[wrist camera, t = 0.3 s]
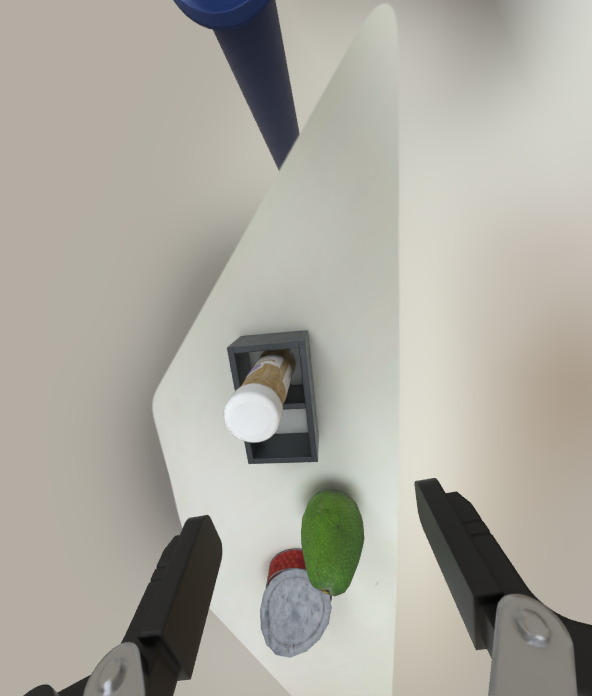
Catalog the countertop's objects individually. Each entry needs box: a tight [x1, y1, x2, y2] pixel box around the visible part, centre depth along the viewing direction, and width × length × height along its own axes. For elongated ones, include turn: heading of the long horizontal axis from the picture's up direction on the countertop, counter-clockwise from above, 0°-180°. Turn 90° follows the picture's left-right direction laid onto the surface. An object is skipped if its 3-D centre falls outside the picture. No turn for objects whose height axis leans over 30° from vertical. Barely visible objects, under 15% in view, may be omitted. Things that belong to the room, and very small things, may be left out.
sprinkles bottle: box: [224, 349, 295, 442], centre depth 28 cm, size 5×5×14 cm
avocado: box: [301, 490, 364, 596], centre depth 34 cm, size 8×8×12 cm
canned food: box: [260, 549, 332, 657], centre depth 41 cm, size 11×10×10 cm
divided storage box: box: [227, 330, 319, 464], centre depth 33 cm, size 14×8×5 cm, turn 6°
